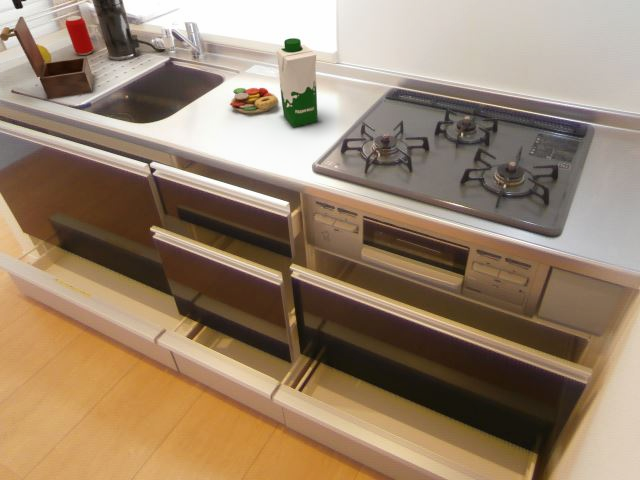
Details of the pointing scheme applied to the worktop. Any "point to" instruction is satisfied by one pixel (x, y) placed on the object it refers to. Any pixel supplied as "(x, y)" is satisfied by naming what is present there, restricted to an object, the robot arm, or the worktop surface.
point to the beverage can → (79, 35)
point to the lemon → (44, 53)
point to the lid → (25, 44)
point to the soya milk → (298, 82)
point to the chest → (66, 77)
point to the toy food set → (253, 100)
